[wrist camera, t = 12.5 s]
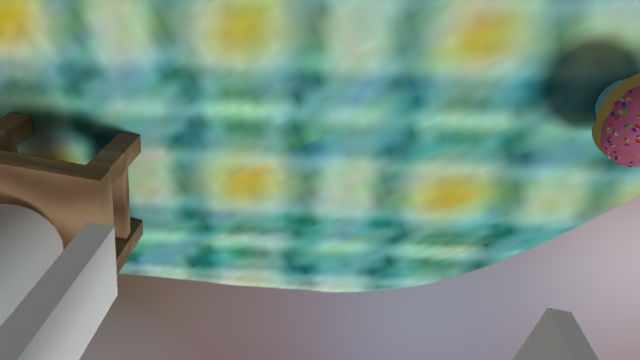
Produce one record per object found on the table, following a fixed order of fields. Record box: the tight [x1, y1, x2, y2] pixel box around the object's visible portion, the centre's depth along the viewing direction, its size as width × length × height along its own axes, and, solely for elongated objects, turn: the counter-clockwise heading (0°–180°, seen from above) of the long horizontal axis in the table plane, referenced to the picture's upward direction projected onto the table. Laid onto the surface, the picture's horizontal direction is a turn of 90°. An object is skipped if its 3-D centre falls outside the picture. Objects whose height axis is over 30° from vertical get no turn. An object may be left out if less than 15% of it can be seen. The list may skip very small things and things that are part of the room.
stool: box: [0, 112, 143, 287], centre depth 44 cm, size 14×14×10 cm
